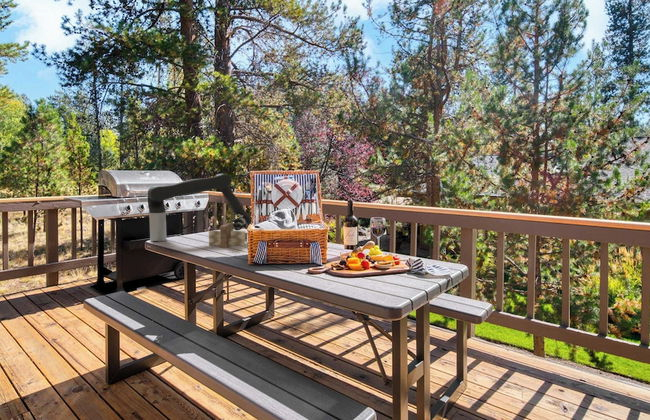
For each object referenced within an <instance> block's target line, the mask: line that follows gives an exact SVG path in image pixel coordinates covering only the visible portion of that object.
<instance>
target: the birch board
mask: <svg viewBox="0 0 650 420" xmlns="http://www.w3.org/2000/svg"><path fill="white" fill-rule="evenodd" d="M245 233H246V231H245V230H233V231H231V238H229V246H245V245H246V238H245V237H246V235H245ZM208 245H209V246H221V231H220V230H209V231H208Z"/></svg>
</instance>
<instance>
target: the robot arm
mask: <svg viewBox="0 0 650 420" xmlns="http://www.w3.org/2000/svg"><path fill="white" fill-rule="evenodd" d="M231 177H232V176H230V175H229V174H226V173H218V174H216V175H215V176H212V177H208V178H205V177H204V178H202V177H201V178H193V179H187V180H184V181H181V182H178V183H175V184H171V185H162V186H159V185H154V186H151V187H149V188H148V191H147V204H148V205H147V206H148V212H149V213H148V214H149V215H148V216H149V241H150V242H153V241H158V242H165V241H167V240H168V239H167V221H166V220H167V218H166V217H167V216H166V215H167V213H166V207H165V200H168V199H173V198H177V197H184V196H191V195H195V194H199V193H204V192H206V191H210V190H215V189H218V190H219V191H220V192H221V194H222V195H223V197H224V198H225V199H226V202H227V203H228V205H229V207H230V209H231V211H232V213H233V214H234V215H235V216H238V217H237V218H235V219H233V220H232V221H231V222H233V231H242V229H247V228H248V225H250V224H251V223H252V222H251V218H252V216H251V215H250V214H249V213H248V212H247V211H246V210H245V209H244V207H243V205H242V203H241V202H240V200H239V199H238V197H237V196H236V195H235V193H234V192H233V191H232V189H231V188H230V186H231V184H232V178H231ZM226 223H227V222H225V223H223V225H224V224H226Z"/></svg>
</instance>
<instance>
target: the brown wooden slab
mask: <svg viewBox="0 0 650 420" xmlns="http://www.w3.org/2000/svg"><path fill="white" fill-rule="evenodd" d="M225 223H226V224H225ZM225 223H223V224H224V225H220V227H219V228H220V230H219V231H221V245H220V248H221V249H227V248H228V247H229V246H230V245H229V238H231V231H234V229H233V222H232V221H229V222H225Z"/></svg>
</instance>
